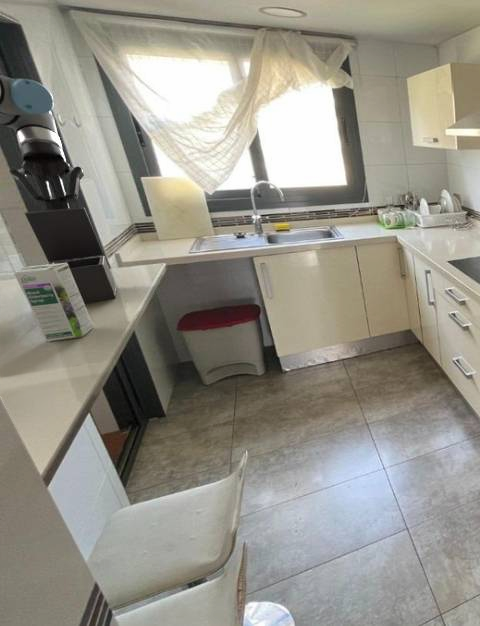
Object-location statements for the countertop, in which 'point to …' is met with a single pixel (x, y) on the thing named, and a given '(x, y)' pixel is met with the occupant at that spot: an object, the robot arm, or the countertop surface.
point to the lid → (64, 233)
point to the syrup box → (55, 301)
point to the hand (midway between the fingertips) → (62, 223)
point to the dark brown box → (92, 278)
